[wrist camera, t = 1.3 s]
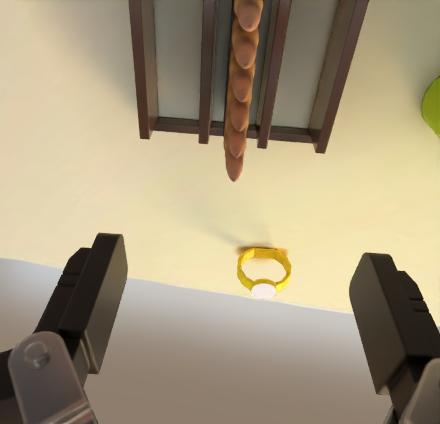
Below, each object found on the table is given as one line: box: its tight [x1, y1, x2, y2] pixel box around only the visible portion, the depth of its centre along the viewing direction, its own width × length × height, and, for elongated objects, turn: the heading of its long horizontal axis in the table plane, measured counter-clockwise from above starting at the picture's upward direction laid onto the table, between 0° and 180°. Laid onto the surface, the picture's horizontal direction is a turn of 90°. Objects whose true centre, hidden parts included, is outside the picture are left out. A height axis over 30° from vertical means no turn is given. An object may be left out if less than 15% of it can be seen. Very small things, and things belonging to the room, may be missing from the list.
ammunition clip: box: [223, 0, 263, 182], centre depth 25 cm, size 11×2×12 cm, turn 176°
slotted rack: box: [129, 0, 369, 154], centre depth 28 cm, size 15×15×4 cm
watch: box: [237, 248, 291, 300], centre depth 42 cm, size 6×3×6 cm, turn 89°
